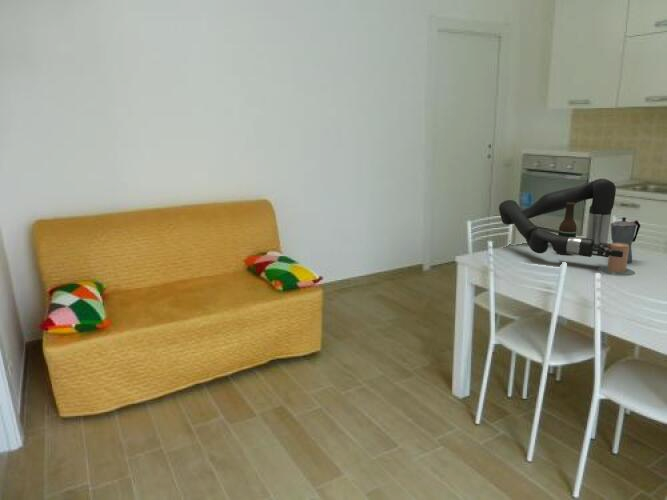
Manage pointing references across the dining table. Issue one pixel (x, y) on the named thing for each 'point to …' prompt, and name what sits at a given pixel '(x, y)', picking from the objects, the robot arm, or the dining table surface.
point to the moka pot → (625, 234)
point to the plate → (627, 273)
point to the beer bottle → (568, 224)
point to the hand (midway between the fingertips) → (624, 252)
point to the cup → (618, 258)
